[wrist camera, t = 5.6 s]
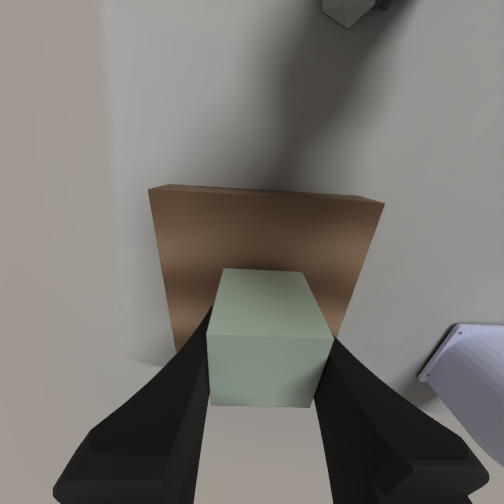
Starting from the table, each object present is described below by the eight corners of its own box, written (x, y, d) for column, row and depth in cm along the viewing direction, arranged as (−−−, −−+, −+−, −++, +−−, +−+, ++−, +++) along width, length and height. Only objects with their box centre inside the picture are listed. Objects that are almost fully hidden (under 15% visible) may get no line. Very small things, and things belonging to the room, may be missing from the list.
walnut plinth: (318, 330, 20) (329, 357, 17) (186, 325, 19) (176, 352, 17) (358, 195, 14) (385, 203, 11) (168, 184, 13) (147, 189, 11)
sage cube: (290, 328, 14) (309, 407, 9) (224, 326, 14) (211, 405, 9) (302, 271, 12) (334, 338, 7) (223, 268, 12) (206, 334, 7)
